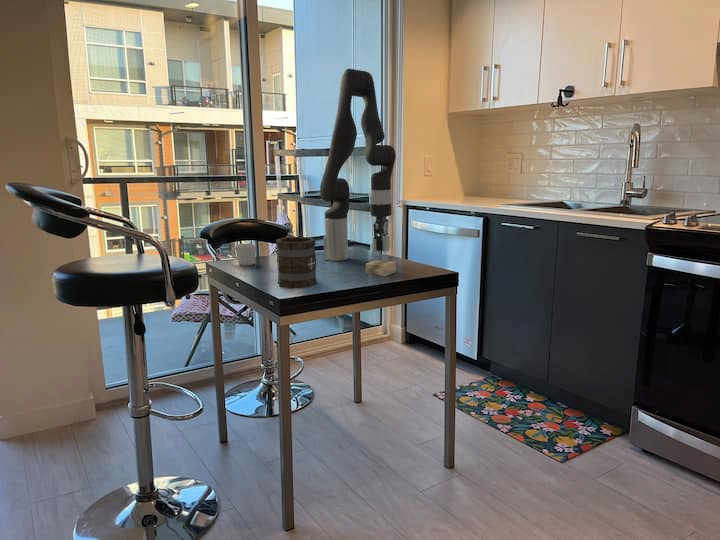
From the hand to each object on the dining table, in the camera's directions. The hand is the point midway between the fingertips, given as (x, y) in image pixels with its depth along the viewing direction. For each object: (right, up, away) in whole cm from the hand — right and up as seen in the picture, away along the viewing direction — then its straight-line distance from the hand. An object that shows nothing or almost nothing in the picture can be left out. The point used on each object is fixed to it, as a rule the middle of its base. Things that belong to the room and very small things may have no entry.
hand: (381, 249), depth 189 cm
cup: (-54, -6, +19) cm, 58 cm away
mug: (-29, -12, -10) cm, 33 cm away
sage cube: (0, 0, 0) cm, 0 cm away
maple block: (0, -9, +2) cm, 9 cm away
